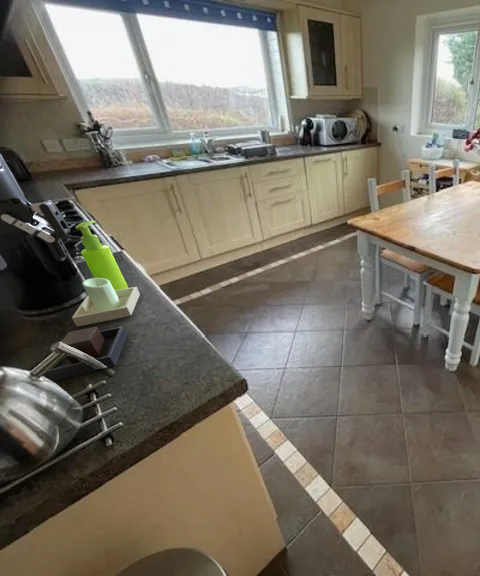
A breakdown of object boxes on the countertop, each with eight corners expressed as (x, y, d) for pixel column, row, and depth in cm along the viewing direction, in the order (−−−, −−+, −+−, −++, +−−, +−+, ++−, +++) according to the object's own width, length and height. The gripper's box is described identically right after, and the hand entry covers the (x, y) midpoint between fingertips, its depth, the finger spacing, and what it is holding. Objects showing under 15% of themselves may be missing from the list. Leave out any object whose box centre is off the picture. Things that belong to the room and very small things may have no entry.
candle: (124, 300, 88) (110, 273, 84) (116, 311, 84) (102, 283, 79) (102, 303, 87) (87, 276, 82) (93, 314, 82) (77, 286, 78)
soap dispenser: (134, 283, 97) (103, 218, 87) (122, 295, 91) (88, 227, 81) (112, 285, 96) (78, 219, 86) (98, 297, 90) (61, 229, 80)
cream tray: (76, 326, 79) (71, 318, 78) (91, 303, 88) (87, 295, 87) (131, 315, 83) (127, 307, 82) (140, 294, 92) (136, 286, 90)
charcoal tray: (46, 382, 64) (39, 373, 62) (68, 347, 72) (62, 338, 71) (115, 366, 67) (109, 356, 66) (127, 334, 76) (123, 325, 75)
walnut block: (71, 365, 67) (58, 346, 64) (79, 350, 71) (68, 332, 68) (101, 358, 68) (89, 339, 66) (107, 344, 72) (97, 326, 70)
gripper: (42, 162, 56) (88, 249, 64) (-73, 169, 51) (-8, 263, 59) (21, 170, 50) (74, 265, 58) (-112, 179, 45) (-34, 281, 53)
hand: (32, 264), depth 59 cm, fingers open, 8 cm apart
